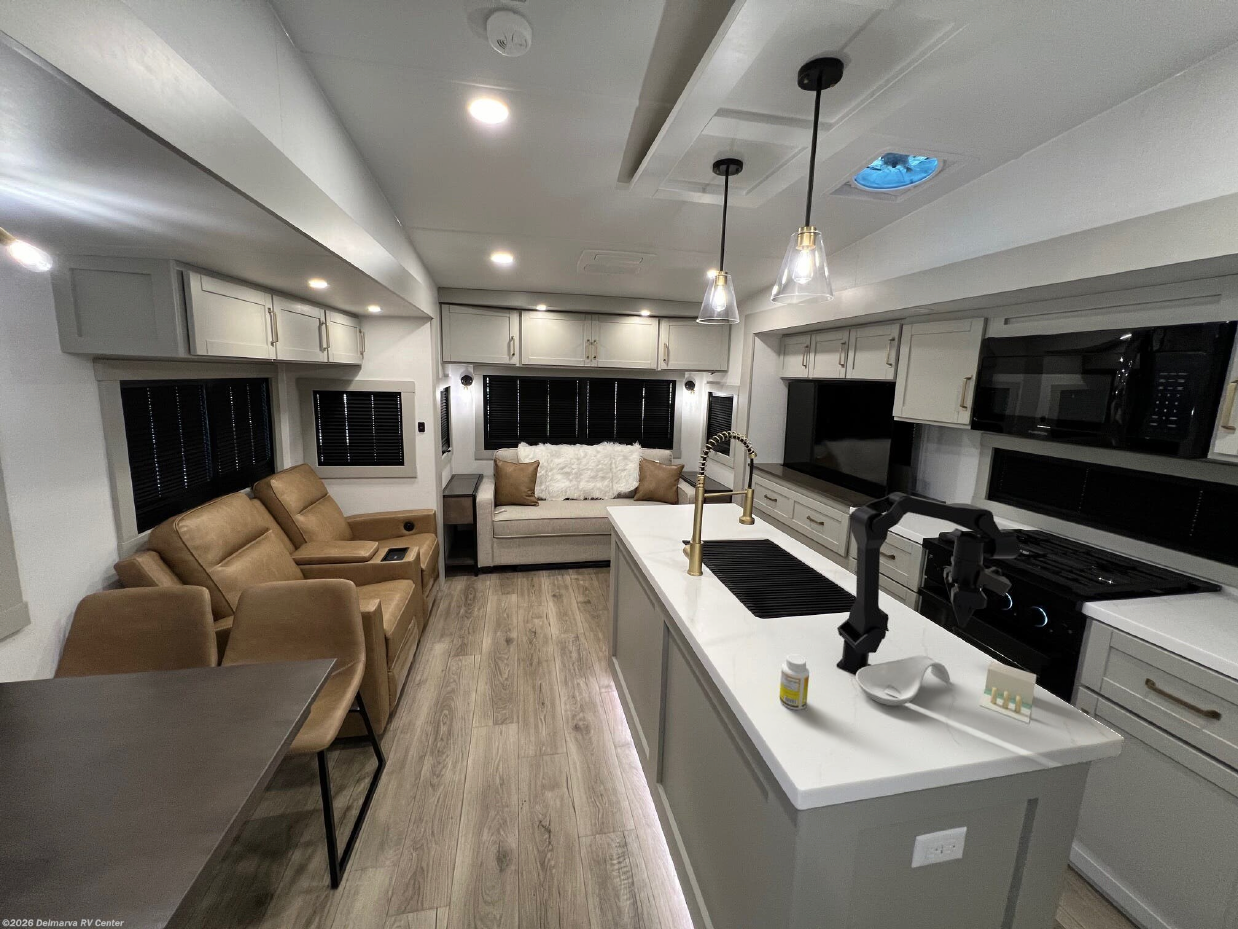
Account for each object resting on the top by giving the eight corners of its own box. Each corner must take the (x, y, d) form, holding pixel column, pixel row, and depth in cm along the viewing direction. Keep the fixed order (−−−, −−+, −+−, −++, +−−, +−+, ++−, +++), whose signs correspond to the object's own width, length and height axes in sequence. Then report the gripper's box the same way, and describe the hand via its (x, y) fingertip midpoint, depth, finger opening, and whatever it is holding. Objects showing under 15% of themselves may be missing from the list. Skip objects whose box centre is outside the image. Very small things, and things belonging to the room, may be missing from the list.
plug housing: (1031, 705, 103) (1035, 683, 102) (984, 688, 108) (988, 668, 107) (1032, 695, 106) (1036, 675, 105) (987, 680, 111) (990, 660, 110)
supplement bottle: (798, 694, 106) (802, 651, 105) (811, 710, 101) (815, 665, 99) (774, 695, 106) (778, 652, 104) (785, 711, 100) (789, 666, 99)
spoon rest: (887, 720, 99) (891, 688, 98) (842, 687, 110) (845, 658, 109) (965, 696, 107) (969, 667, 106) (916, 668, 118) (919, 641, 117)
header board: (1027, 729, 97) (1031, 708, 96) (978, 710, 102) (981, 690, 101) (1032, 698, 107) (1035, 679, 106) (987, 682, 112) (990, 664, 112)
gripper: (1020, 577, 102) (1009, 645, 105) (1001, 552, 119) (992, 611, 121) (957, 567, 108) (948, 632, 110) (947, 544, 124) (939, 601, 126)
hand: (959, 618), depth 117 cm, fingers open, 9 cm apart
